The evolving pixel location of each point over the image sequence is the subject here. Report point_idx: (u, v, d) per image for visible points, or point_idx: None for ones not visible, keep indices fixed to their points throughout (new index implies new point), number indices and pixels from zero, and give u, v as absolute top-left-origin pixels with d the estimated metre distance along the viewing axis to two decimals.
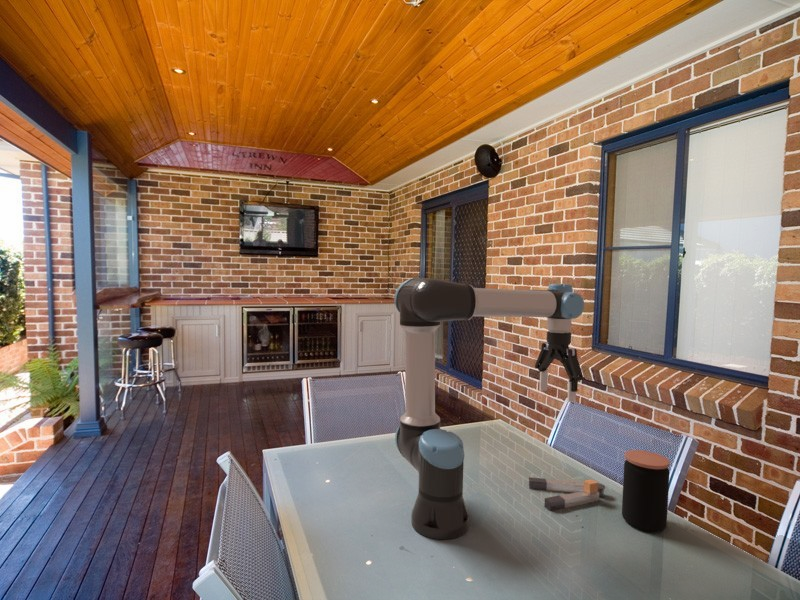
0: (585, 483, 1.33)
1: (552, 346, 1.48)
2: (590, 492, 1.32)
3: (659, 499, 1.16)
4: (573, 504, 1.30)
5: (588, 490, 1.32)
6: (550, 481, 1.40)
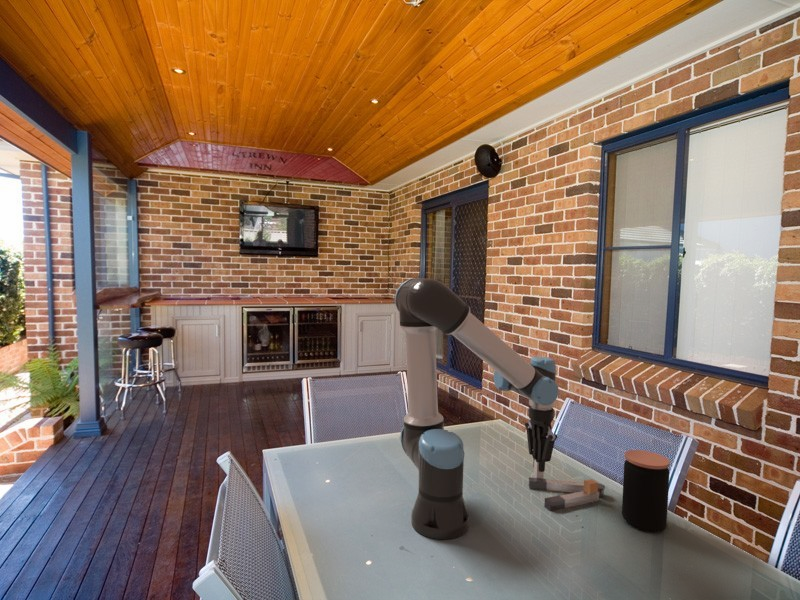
0: (585, 483, 1.33)
1: None
2: (590, 492, 1.32)
3: (659, 499, 1.16)
4: (573, 504, 1.30)
5: (588, 490, 1.32)
6: (550, 481, 1.40)
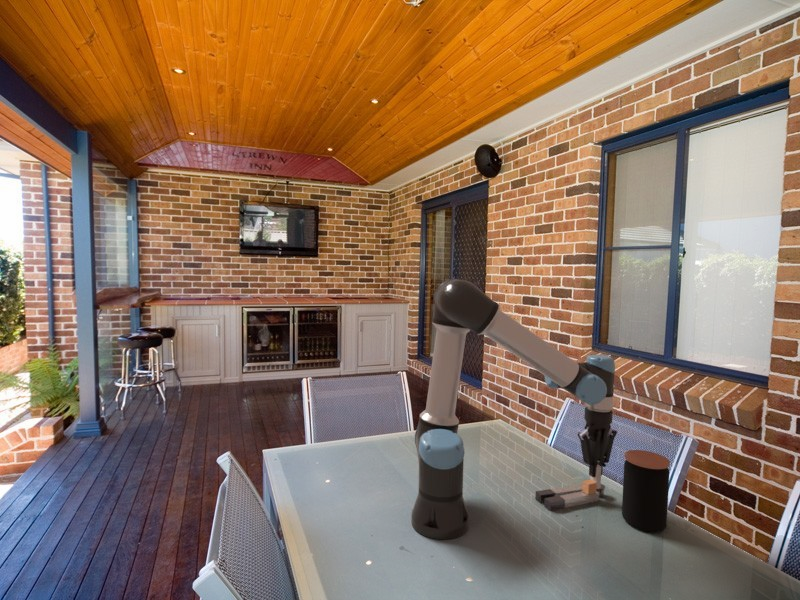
0: (584, 483, 1.33)
1: (594, 425, 1.31)
2: (589, 492, 1.31)
3: (659, 499, 1.16)
4: (573, 504, 1.30)
5: (587, 490, 1.32)
6: (556, 491, 1.33)
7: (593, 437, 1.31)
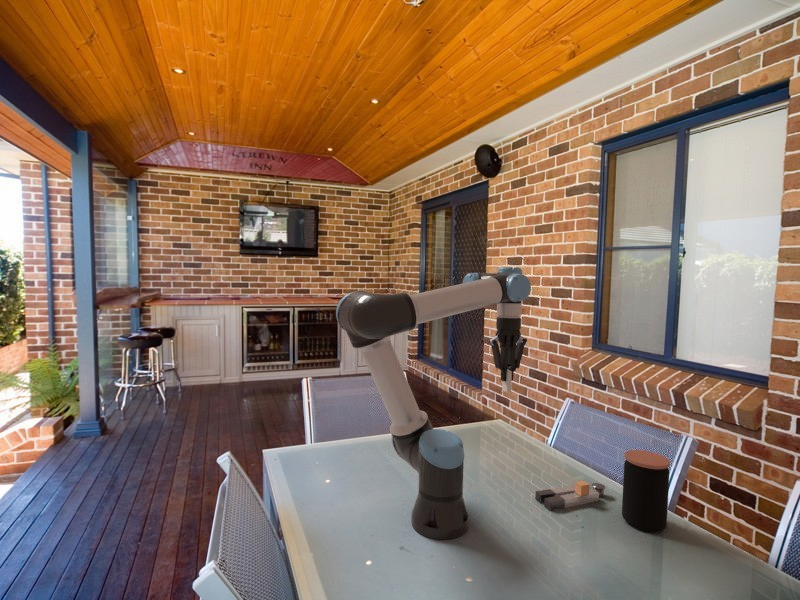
0: (576, 485, 1.32)
1: (504, 331, 1.40)
2: (581, 494, 1.30)
3: (659, 499, 1.16)
4: (573, 504, 1.30)
5: (579, 492, 1.31)
6: (556, 491, 1.33)
7: (503, 343, 1.40)
